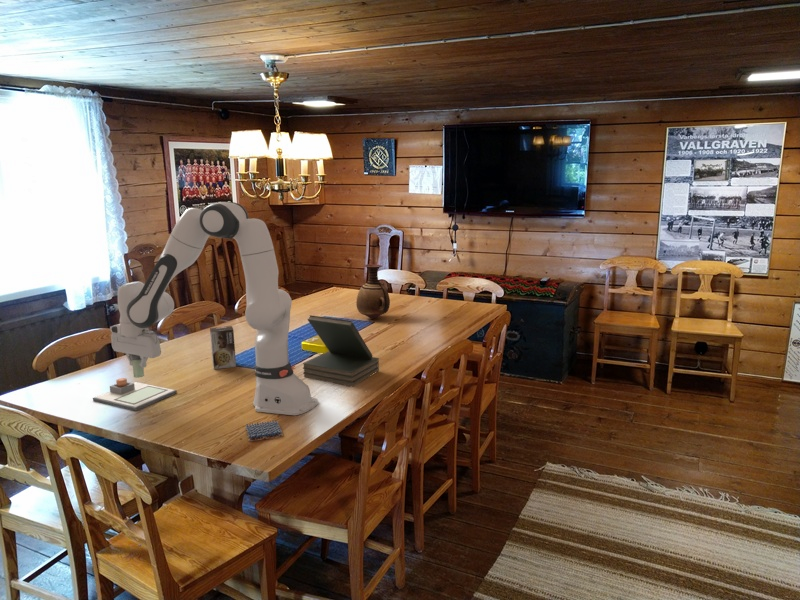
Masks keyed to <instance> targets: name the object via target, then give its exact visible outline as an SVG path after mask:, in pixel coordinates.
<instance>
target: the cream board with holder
mask: <svg viewBox="0 0 800 600" xmlns="http://www.w3.org/2000/svg"><path fill="white" fill-rule="evenodd" d="M175 394H178V391H177V390H176V389H172V388H167V387H163V386H159V385H152V384H148V383H143V382H138V381H134V382H131V381H130V382H129V381H127V385H126V386H124V387H117V383H114V384H111V385H109V391H108V392H105V393H102V394H100V395H97V396H95V397H92V401H93V402H97V403H99V404H100V403H101V404H105V405H110V406H113V407H117V408H121V409H127V410H130V411H131V410H132V411H134V412H137V411H140V410H141V409H144V408H146V407H149V406H150V405H153V404H155V403H157V402H159V401H162V400H164V399H166V398H168V397H171V396H173V395H175Z"/></svg>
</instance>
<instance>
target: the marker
mask: <svg viewBox="0 0 800 600" xmlns="http://www.w3.org/2000/svg"><path fill="white" fill-rule="evenodd" d="M141 360H142V359H141V358H140V356H138V355H133V354H132V364H133V366H132V372H133V378H135V379H136V378H142V377H144V376H145V367H144V368H141V367H139V363H140V362H141Z"/></svg>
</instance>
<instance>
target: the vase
mask: <svg viewBox="0 0 800 600" xmlns="http://www.w3.org/2000/svg"><path fill="white" fill-rule="evenodd" d="M364 267H365V268H366V269H367V271H368V279H367V281H366V283H364V284H362V286H361V287H360V289H359V290H358V293H357V297H356V310H357V311H358V313H359V314H362V316H366V317H368V318H370V319H371V318H375V319H376V318H378V317H380V316H382V315H385V314H387V313H388V311H389V310H390V305H391V300H390V294H389V291H388V288H387V287H386V286H385V283H382V282H380V281H379V276H378V272H379V269H380V268H381V267H383V265H381V264H375V263H370V264H369V263H368V264H364Z"/></svg>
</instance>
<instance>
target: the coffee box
mask: <svg viewBox="0 0 800 600" xmlns="http://www.w3.org/2000/svg"><path fill="white" fill-rule="evenodd" d="M209 331H210V335H209V336H210V344H211V357H212V359H211V360H212V367H213V370H219V369H227V368H228V369H229V368H234V367H235V368H236V367H237V359H236V357H237V356H236V348H235V335H234V333H235V331H234V328H233V326H232V325H229V326H226V325H225V326H218V327H210V328H209Z"/></svg>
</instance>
